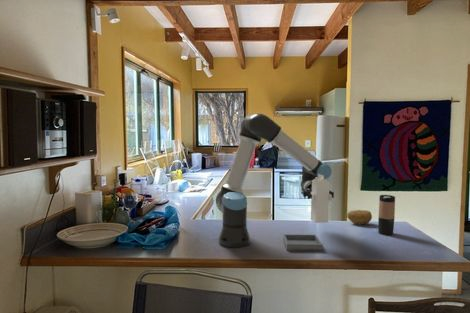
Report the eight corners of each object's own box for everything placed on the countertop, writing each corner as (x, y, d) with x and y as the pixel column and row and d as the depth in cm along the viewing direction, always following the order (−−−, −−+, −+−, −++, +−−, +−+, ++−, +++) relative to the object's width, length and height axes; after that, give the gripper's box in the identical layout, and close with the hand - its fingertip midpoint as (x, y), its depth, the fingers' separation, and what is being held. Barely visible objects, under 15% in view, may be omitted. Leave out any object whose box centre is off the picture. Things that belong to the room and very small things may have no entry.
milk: (316, 223, 148) (317, 175, 146) (310, 219, 154) (311, 173, 152) (328, 222, 149) (329, 175, 147) (322, 218, 155) (323, 173, 153)
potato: (344, 221, 193) (344, 208, 193) (368, 221, 193) (368, 208, 192) (349, 226, 183) (349, 212, 183) (374, 226, 183) (375, 212, 182)
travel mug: (390, 231, 174) (392, 195, 173) (396, 235, 167) (397, 197, 165) (375, 230, 175) (377, 194, 173) (380, 235, 167) (382, 197, 166)
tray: (286, 250, 145) (287, 244, 145) (283, 240, 159) (283, 234, 159) (322, 251, 145) (322, 244, 145) (315, 240, 159) (315, 234, 159)
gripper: (330, 196, 168) (344, 206, 145) (292, 195, 169) (300, 205, 146) (331, 182, 168) (345, 190, 145) (293, 181, 168) (300, 189, 145)
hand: (322, 197), depth 145 cm, fingers closed on milk, 7 cm apart
